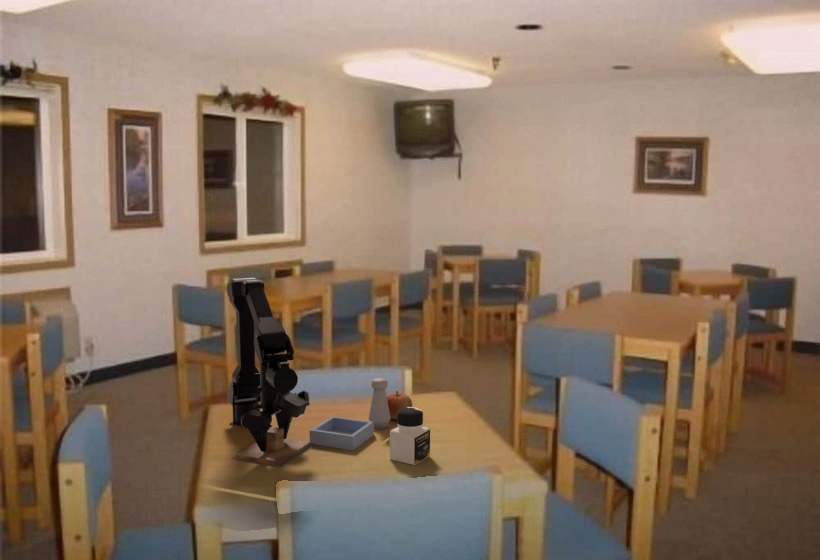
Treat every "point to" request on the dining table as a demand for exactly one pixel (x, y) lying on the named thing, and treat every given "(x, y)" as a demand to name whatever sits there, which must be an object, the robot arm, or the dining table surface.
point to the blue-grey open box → (342, 432)
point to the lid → (274, 449)
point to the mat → (285, 462)
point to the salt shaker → (379, 404)
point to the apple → (397, 403)
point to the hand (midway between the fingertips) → (273, 445)
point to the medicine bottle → (410, 437)
